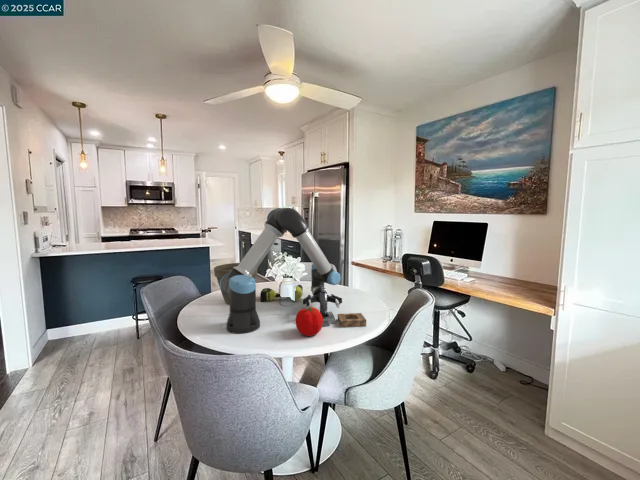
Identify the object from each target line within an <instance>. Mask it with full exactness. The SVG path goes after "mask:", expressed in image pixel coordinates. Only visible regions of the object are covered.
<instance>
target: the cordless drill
mask: <svg viewBox="0 0 640 480" xmlns="http://www.w3.org/2000/svg"><path fill="white" fill-rule="evenodd" d="M295 287H296V291H295V302H298V301H299V299H301V298H302V296H303V289H304V288H303V285H301V284H298V285H296V286H295ZM279 293H280V292H276V291H275V290H274V289H272V288H270V287H265V288H262V289H261V291H260V294H259V295H260V297H259V298H260V302H261V303H267V302H272V301H274V300H275V298H276V299H277V298H281V297H280V294H279Z"/></svg>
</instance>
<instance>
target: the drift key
mask: <svg viewBox="0 0 640 480" xmlns="http://www.w3.org/2000/svg"><path fill="white" fill-rule="evenodd" d="M326 327H331V324H329V323H325V324H322V328H326Z"/></svg>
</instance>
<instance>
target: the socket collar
mask: <svg viewBox="0 0 640 480" xmlns="http://www.w3.org/2000/svg"><path fill="white" fill-rule="evenodd" d="M325 323H329V324H330V325H331V324H332V325H333V324H336V317H335V315H334V313H333V311H327V317H323V323H322V324H325Z"/></svg>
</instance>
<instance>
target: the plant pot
mask: <svg viewBox="0 0 640 480" xmlns="http://www.w3.org/2000/svg"><path fill="white" fill-rule="evenodd" d="M239 264H240V262H233V263H232V262H231V263H225V264H220V265H216V266H214V267H213V270H214V271H213V273H214V277H215V278H216V280H217V283H218V286H219V287H220V281H221V279H222V277H223V276H224V275H226V274H228V273H229V272H230V271H231V270H232V268H233V267H236V266H238V265H239ZM258 267H259V266H258ZM258 267H257V269H256V270H255V272H254V273H253V275H252V277H253V278H254V279H255V280H256V277H257V274H258ZM220 292H221V295H222V299H223V300H224V303H225V304H226V303H227V304H226V305H230V299H229V298H228V297H227V296H225V295H224V294H223V293H222V291H221V290H220Z"/></svg>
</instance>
